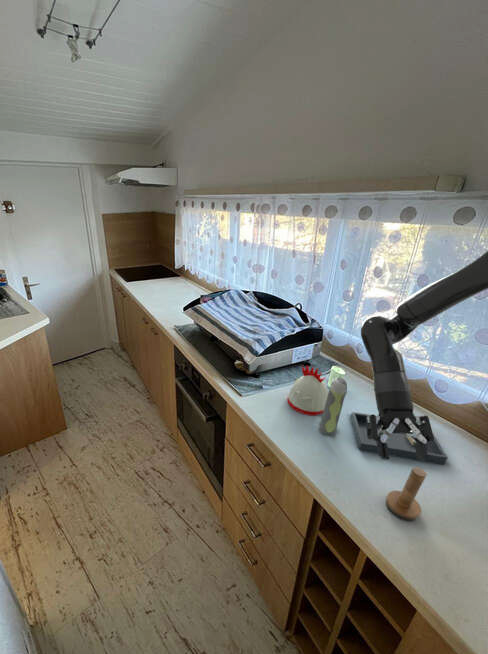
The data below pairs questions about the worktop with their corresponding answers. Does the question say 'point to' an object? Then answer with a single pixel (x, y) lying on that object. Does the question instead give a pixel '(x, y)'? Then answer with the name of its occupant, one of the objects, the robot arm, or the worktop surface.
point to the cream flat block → (411, 440)
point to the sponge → (241, 366)
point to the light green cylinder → (335, 374)
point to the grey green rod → (333, 407)
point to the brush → (407, 497)
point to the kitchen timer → (308, 393)
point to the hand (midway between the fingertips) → (403, 459)
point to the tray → (394, 442)
